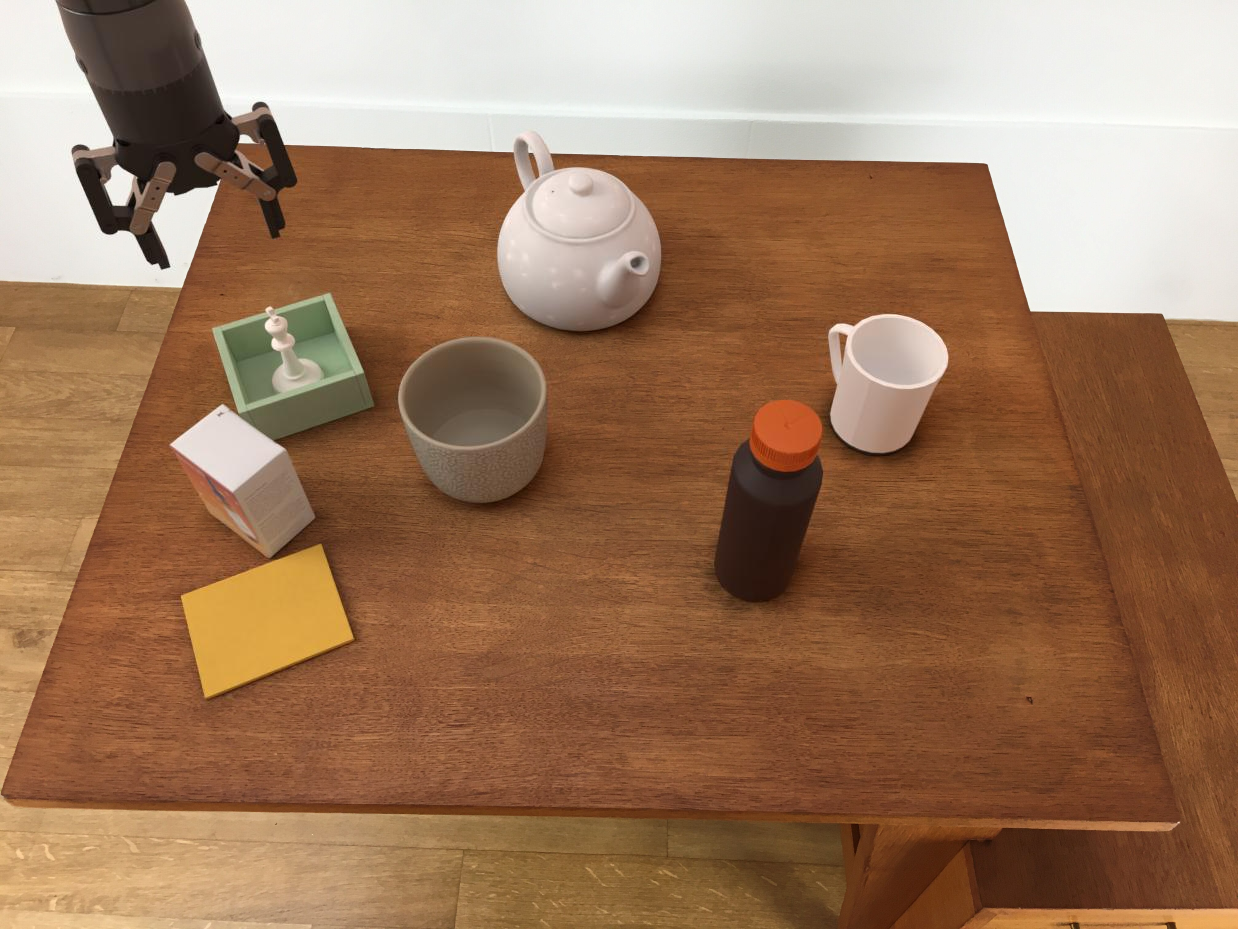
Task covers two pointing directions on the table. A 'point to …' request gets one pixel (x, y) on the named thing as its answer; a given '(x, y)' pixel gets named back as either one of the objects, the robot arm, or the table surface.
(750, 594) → the bottle
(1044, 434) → the table surface
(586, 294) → the teapot
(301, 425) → the sage bin
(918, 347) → the mug
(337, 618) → the ochre mat
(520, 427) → the planter
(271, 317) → the chess piece
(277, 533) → the small box
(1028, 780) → the table surface
